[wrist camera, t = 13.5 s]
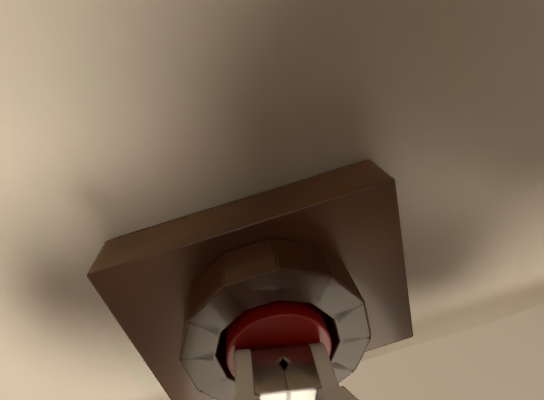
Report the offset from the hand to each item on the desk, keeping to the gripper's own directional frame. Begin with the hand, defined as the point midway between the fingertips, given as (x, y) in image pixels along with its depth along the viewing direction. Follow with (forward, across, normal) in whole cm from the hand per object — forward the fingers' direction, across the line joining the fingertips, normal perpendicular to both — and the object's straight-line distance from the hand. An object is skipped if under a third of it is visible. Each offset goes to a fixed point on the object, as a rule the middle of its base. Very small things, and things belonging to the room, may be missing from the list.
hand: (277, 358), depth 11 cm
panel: (+4, 0, 0) cm, 4 cm away
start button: (+2, 0, 0) cm, 2 cm away
